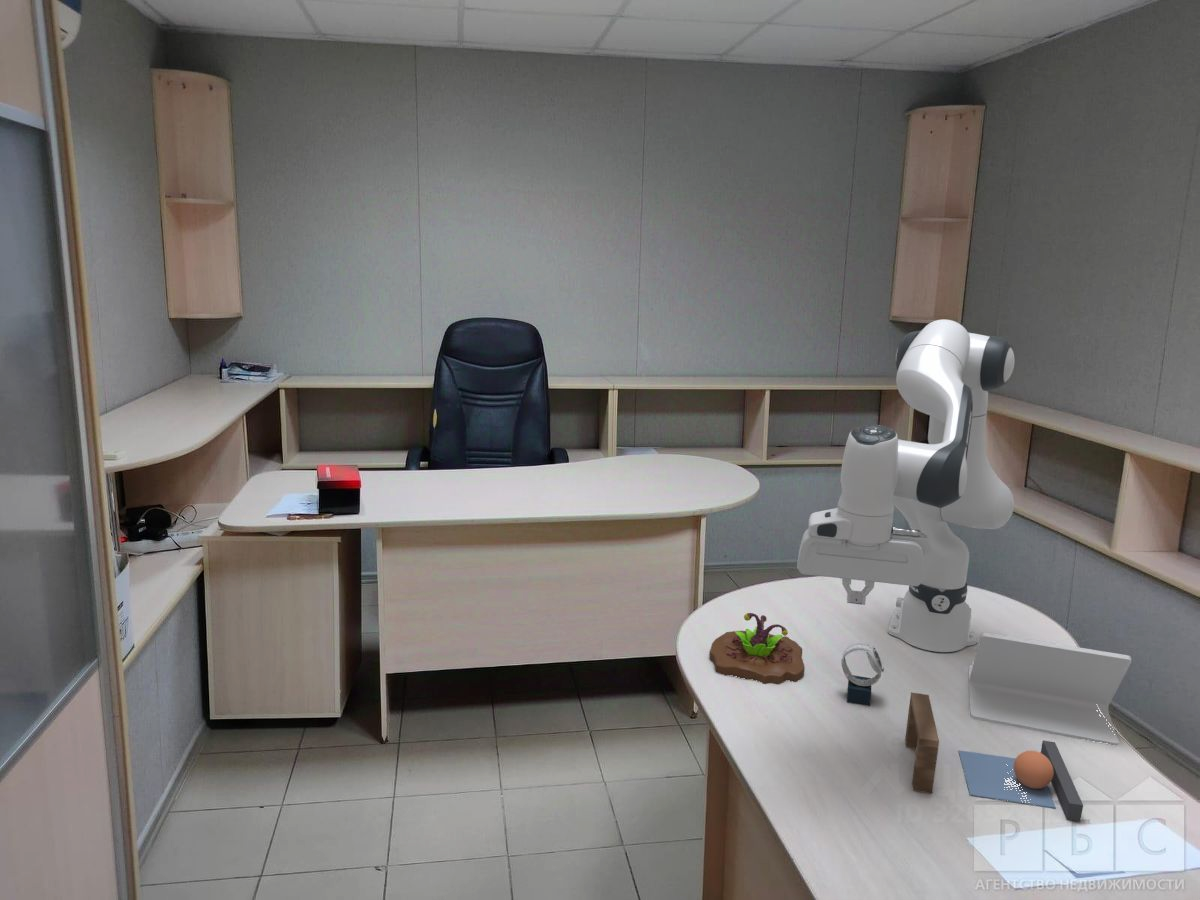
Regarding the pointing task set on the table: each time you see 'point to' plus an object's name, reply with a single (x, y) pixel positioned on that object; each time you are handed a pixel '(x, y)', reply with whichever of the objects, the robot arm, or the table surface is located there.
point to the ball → (1033, 769)
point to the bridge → (922, 741)
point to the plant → (758, 654)
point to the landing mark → (999, 780)
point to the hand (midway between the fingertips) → (855, 602)
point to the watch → (856, 684)
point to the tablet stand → (1045, 686)
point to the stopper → (1063, 783)
